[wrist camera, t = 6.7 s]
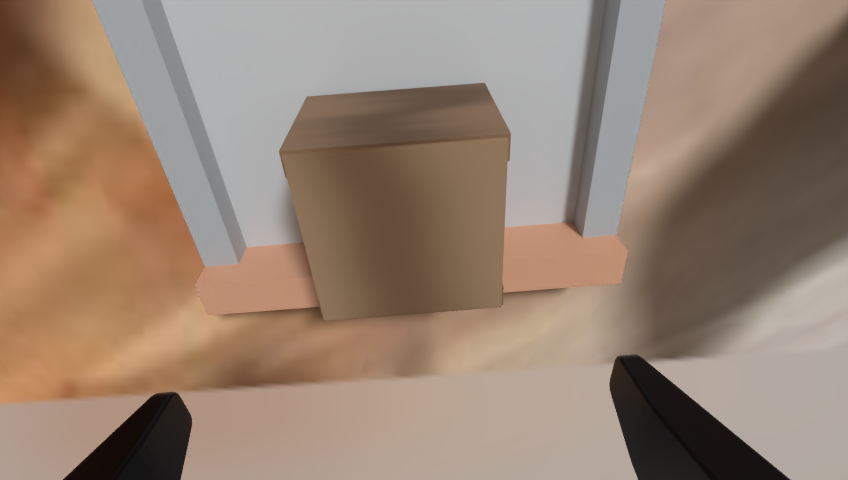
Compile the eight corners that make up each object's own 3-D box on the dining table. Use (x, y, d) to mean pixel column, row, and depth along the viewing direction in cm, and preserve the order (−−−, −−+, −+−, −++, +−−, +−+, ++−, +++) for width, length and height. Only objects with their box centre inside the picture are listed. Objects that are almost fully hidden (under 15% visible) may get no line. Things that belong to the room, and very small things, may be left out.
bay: (706, -367, 11) (792, -447, 9) (595, 241, 22) (620, 283, 19) (4, -313, 11) (-107, -377, 9) (229, 269, 21) (208, 315, 19)
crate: (483, 81, 16) (512, 136, 12) (482, 228, 20) (504, 308, 16) (307, 94, 16) (277, 154, 12) (337, 239, 20) (321, 323, 16)
